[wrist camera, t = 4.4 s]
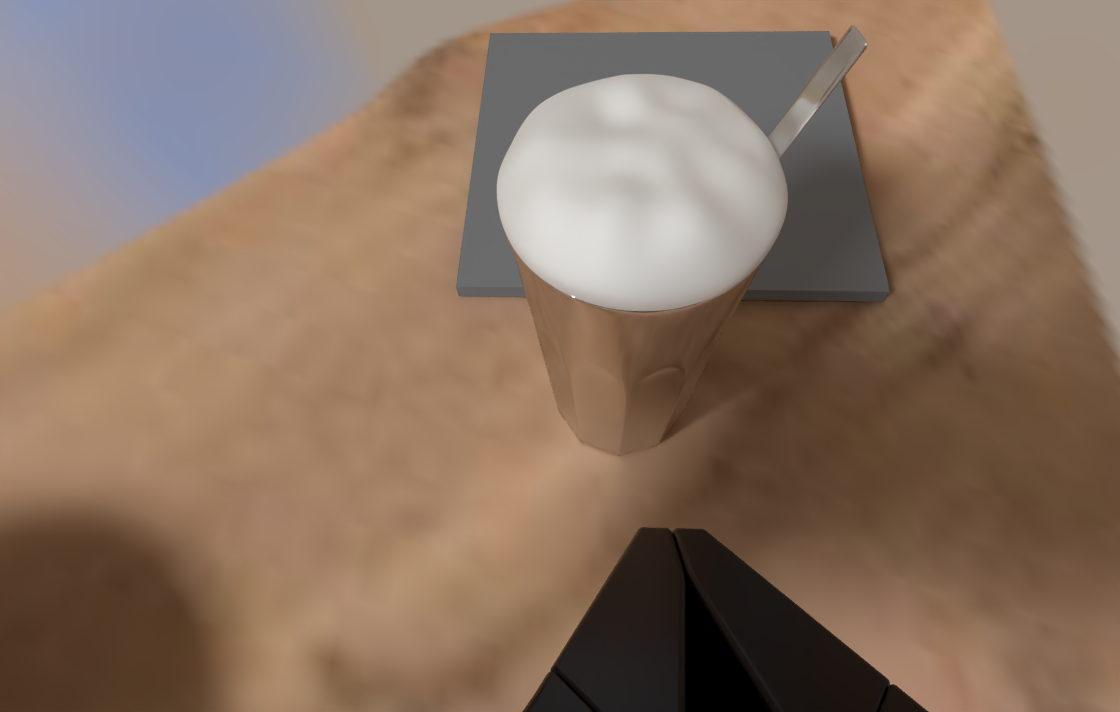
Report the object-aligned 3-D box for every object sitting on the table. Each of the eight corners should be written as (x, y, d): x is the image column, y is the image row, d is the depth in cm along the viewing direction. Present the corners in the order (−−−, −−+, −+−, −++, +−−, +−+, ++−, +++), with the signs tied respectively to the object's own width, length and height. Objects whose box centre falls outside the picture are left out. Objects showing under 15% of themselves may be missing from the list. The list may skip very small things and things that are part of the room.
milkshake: (763, 444, 17) (952, 149, 8) (559, 502, 16) (526, 254, 8) (698, 299, 19) (792, -58, 10) (515, 346, 19) (450, 13, 10)
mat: (882, 301, 19) (890, 291, 18) (459, 296, 19) (456, 286, 19) (824, 43, 24) (829, 31, 24) (491, 45, 25) (490, 33, 24)
